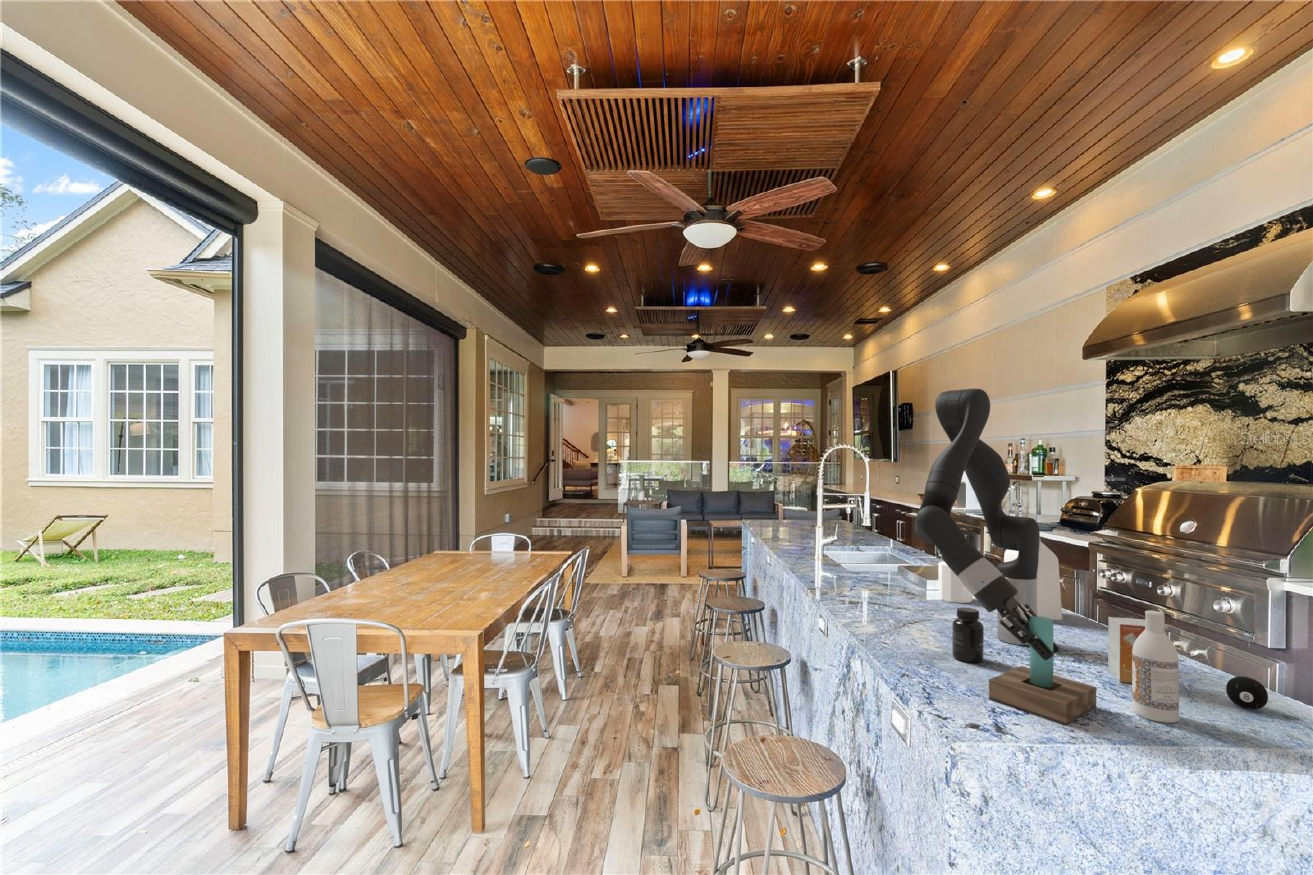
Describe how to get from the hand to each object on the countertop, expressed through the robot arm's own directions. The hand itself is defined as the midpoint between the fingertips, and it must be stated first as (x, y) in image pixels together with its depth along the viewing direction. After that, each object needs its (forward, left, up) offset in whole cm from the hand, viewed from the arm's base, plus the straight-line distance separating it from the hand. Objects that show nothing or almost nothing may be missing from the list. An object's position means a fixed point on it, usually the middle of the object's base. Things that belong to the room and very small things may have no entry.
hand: (1052, 654), depth 120 cm
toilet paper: (-67, -57, -11) cm, 88 cm away
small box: (-31, +4, -11) cm, 33 cm away
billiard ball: (-32, +22, -11) cm, 40 cm away
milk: (-69, -34, -11) cm, 77 cm away
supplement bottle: (-13, -24, -11) cm, 29 cm away
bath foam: (-12, +13, -11) cm, 20 cm away
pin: (0, -2, -6) cm, 7 cm away
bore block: (0, -2, -10) cm, 10 cm away
